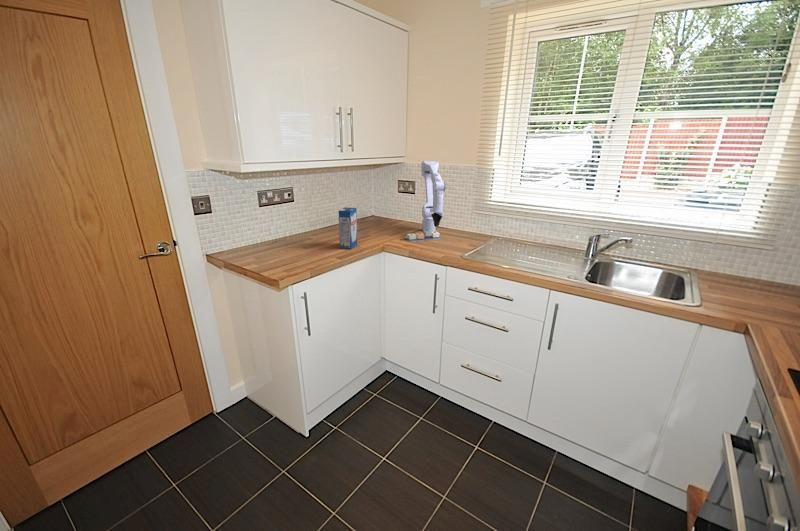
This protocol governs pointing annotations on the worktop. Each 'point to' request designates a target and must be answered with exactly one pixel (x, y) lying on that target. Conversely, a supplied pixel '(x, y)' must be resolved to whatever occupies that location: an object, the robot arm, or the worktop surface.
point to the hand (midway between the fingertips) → (436, 226)
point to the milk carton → (348, 228)
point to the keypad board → (425, 239)
